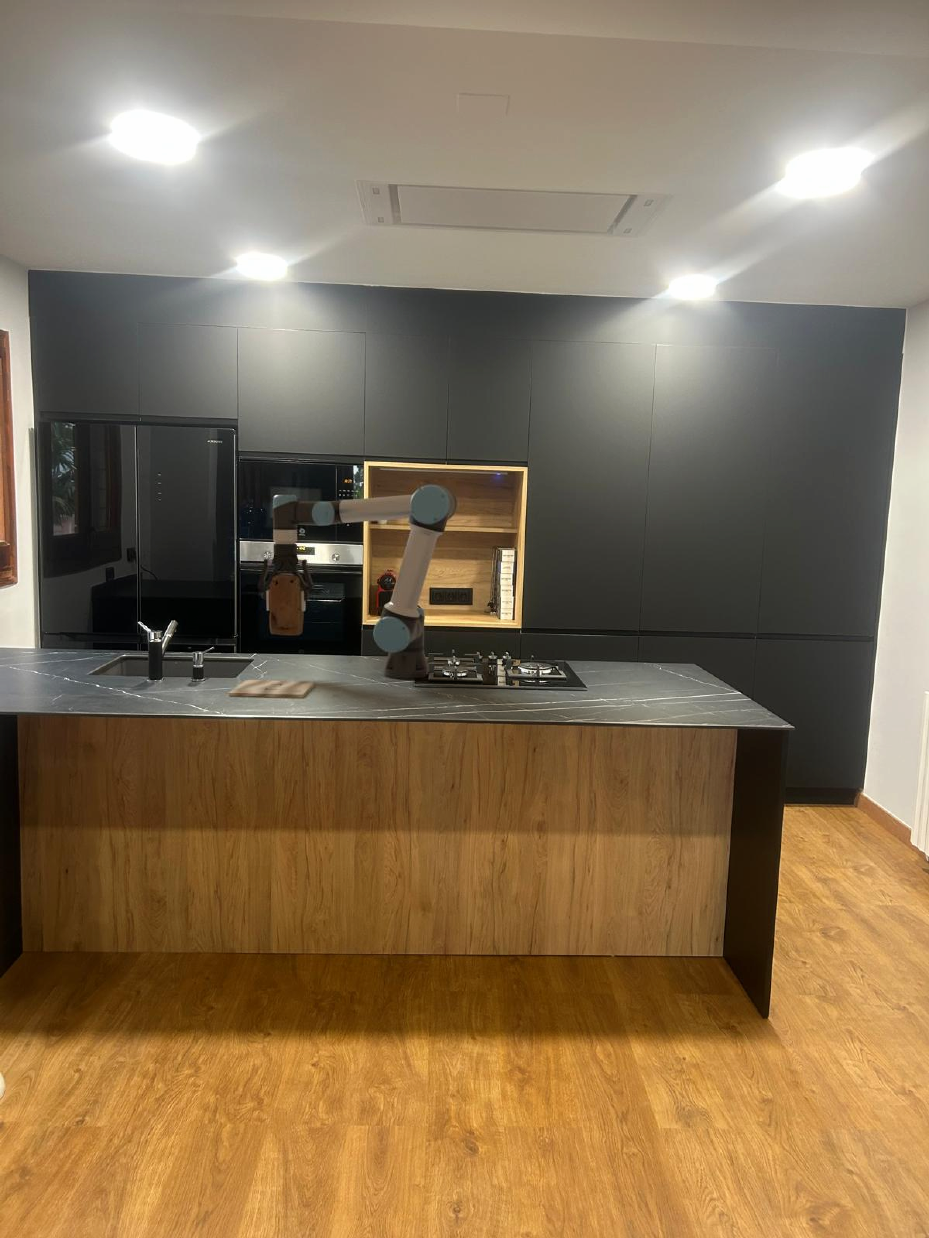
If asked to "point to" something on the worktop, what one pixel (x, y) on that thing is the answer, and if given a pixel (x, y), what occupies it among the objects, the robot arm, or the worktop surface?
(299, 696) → the wooden cutting board
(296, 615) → the block
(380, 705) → the worktop surface
